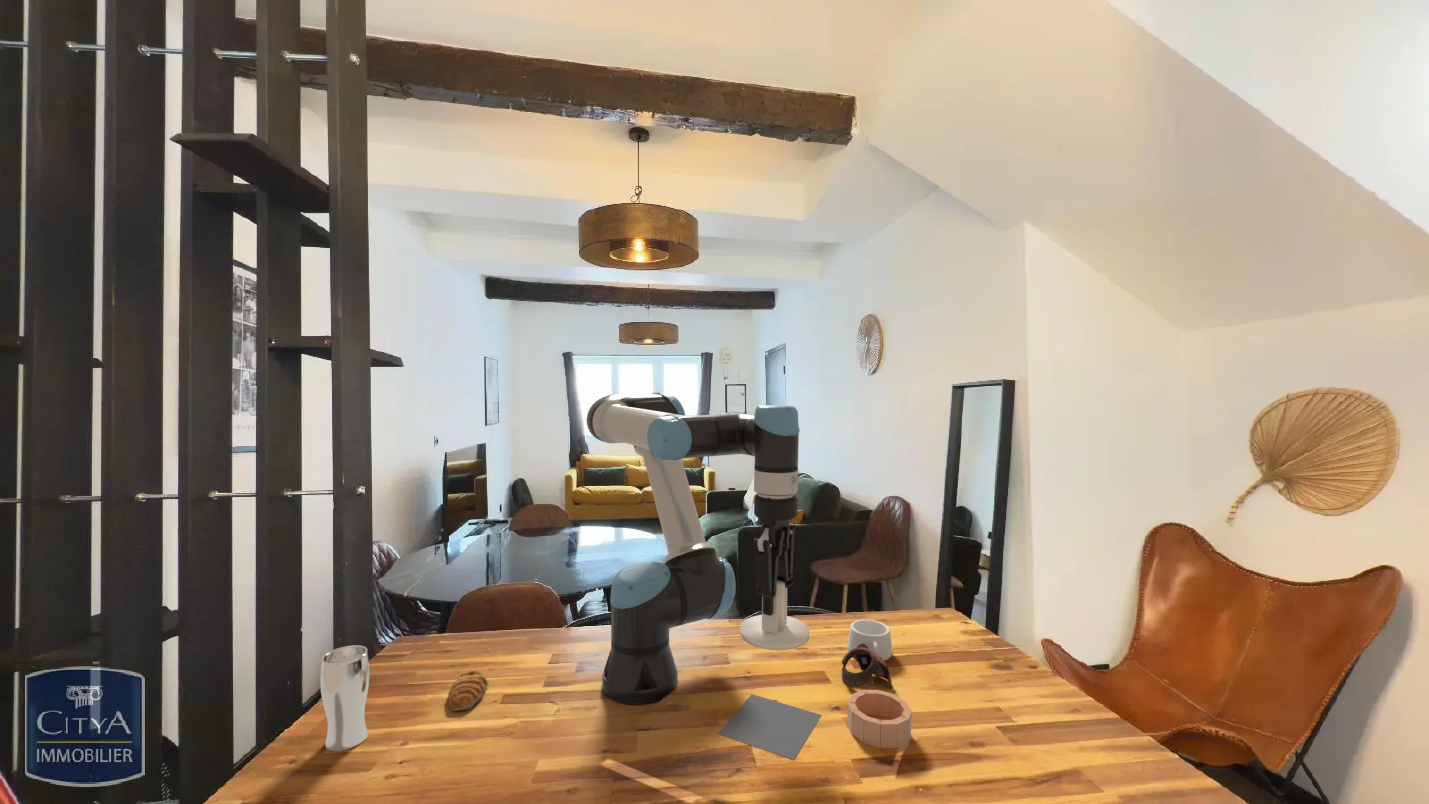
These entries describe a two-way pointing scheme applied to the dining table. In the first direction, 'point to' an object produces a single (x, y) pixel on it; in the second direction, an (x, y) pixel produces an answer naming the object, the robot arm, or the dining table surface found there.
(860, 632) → the mug
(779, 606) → the lid
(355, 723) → the beer glass
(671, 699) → the dining table surface
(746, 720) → the mat
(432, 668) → the dining table surface
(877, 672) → the broken pottery
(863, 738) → the bowl
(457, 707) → the pastry
